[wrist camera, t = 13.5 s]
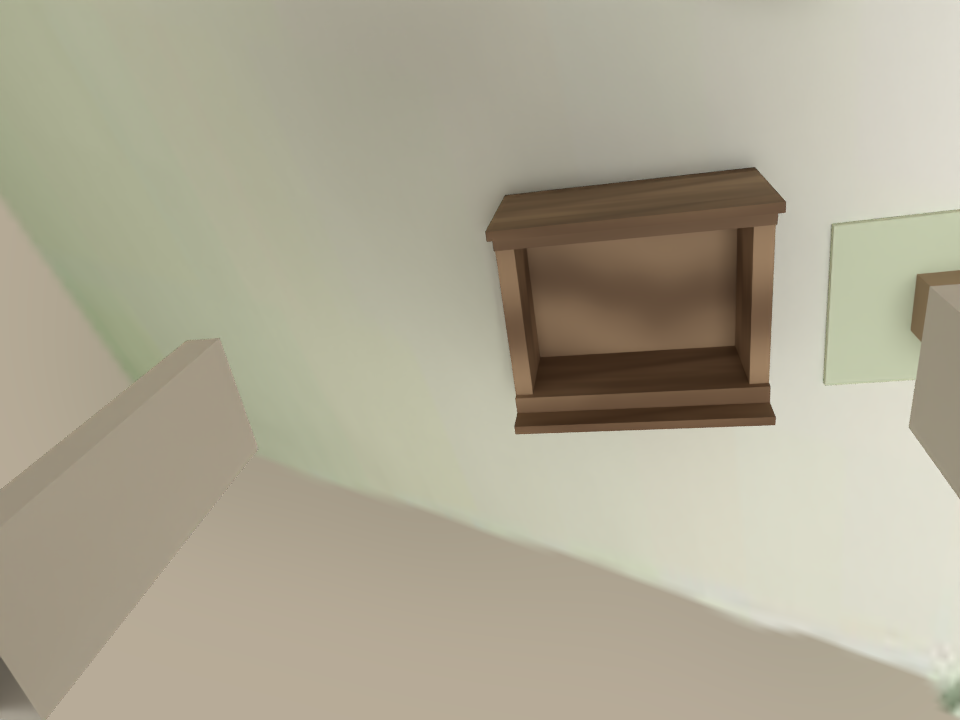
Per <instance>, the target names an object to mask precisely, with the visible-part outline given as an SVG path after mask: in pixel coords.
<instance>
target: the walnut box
mask: <svg viewBox="0 0 960 720" xmlns="http://www.w3.org/2000/svg"><path fill="white" fill-rule="evenodd" d="M778 213H786V201H785V200H784V199H783V198H782V197H781V196H780V195H779V193H778V192H777V191H776V190H775V189H774V188H773V187H772V186H771V185H770V184H769V182H768V181H767V180H766V179H765V178H764V177H763V176H762V175H761V174H760V172H759V171H758V170H757V169H756V168H755V167H753V168H744V169H735V170H726V171H717V172H708V173H699V174H690V175H681V176H673V177H664V178H655V179H646V180H637V181H628V182H619V183H610V184H601V185H592V186H583V187H574V188H565V189H556V190H547V191H539V192H530V193H521V194H512V195H505V196H504V198H503V200H502V202H501V204H500V206H499V208H498V209H497V211H496V213H495V215H494V217H493V219H492V221H491V222H490V224H489V226H488V228H487V230H486V232H485V234H486V240H487V242H490V241H492V242H493V249H494V251H495V253H496V260H497V266H498V273H499V280H500V287H501V294H502V301H503V308H504V315H505V322H506V329H507V335H508V342H509V349H510V356H511V363H512V370H513V377H514V384H515V391H516V398H515V400H516V406H517V418H516V422H515V434H537V433H565V432H593V431H621V430H649V429H678V428H706V427H734V426H762V425H775V420H776V417H775V414H774V412H773V409H772V407H771V404H770V384H769V369H770V345H771V321H772V297H773V274H774V250H775V226H776V225H777V223H778Z"/></svg>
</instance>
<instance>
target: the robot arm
mask: <svg viewBox="0 0 960 720" xmlns="http://www.w3.org/2000/svg"><path fill="white" fill-rule="evenodd" d="M909 428H910V430H911V431H912V433H913V434H914V435H915V437H916V438H917V440H918V441H919V442H920V444H921V445H922V447H923V448H924V449H925V451H926V452H927V454H928V455H929V456H930V458H931V459H932V461H933V462H934V463H935V465H936V466H937V468H938V469H939V470H940V472H941V473H942V475H943V476H944V477H945V479H946V480H947V482H948V483H949V484H950V486H951V487H952V489H953V490H954V492H955V493H956V494H957V496H958V497H959V499H960V284H954V285H941V286H930V288H929V295H928V302H927V308H926V315H925V322H924V329H923V335H922V342H921V349H920V355H919V362H918V369H917V375H916V382H915V389H914V395H913V402H912V409H911V415H910V422H909ZM257 450H258V446H257V443H256V440H255V437H254V435H253V432H252V429H251V426H250V423H249V420H248V417H247V415H246V412H245V409H244V406H243V403H242V400H241V397H240V395H239V392H238V389H237V386H236V383H235V380H234V377H233V375H232V372H231V369H230V366H229V363H228V360H227V357H226V355H225V352H224V349H223V346H222V343H221V340H220V338H214V339H201V340H187V341H186V342H184V343H183V344H182V345H181V346H179V347H178V348H177V349H176V350H174V351H173V352H172V353H171V354H169V355H168V356H167V357H166V358H164V359H163V360H162V361H161V362H159V363H158V364H157V365H156V366H154V367H153V368H152V369H151V370H149V371H148V372H147V373H146V374H144V375H143V376H142V377H141V378H139V379H138V380H137V381H136V382H134V383H133V384H132V385H131V386H129V387H128V388H127V389H126V390H124V391H123V392H122V393H121V394H120V395H118V396H117V397H116V398H114V399H113V400H112V401H111V402H110V403H108V404H107V405H106V406H104V407H103V408H102V409H101V410H99V411H98V412H97V413H96V414H94V415H93V416H92V417H91V418H89V419H88V420H87V421H86V422H84V423H83V424H82V425H81V426H79V427H78V428H77V429H76V430H74V431H73V432H72V433H71V434H69V435H68V436H67V437H66V438H64V439H63V440H62V441H61V442H59V443H58V444H57V445H56V446H54V447H53V448H52V449H51V450H50V451H48V452H47V453H46V454H44V455H43V456H42V457H41V458H39V459H38V460H37V461H36V462H34V463H33V464H32V465H30V466H29V467H28V468H27V469H25V470H24V471H23V472H22V473H21V474H19V475H18V476H17V477H15V478H14V479H13V480H12V481H11V482H9V483H8V484H7V485H5V486H4V487H3V488H2V489H0V719H1V720H46V719H47V718H48V717H49V715H50V714H51V713H52V712H53V710H54V709H55V708H56V706H57V705H58V704H59V703H60V701H61V700H62V699H63V698H64V696H65V695H66V694H67V692H68V691H69V690H70V689H71V687H72V686H73V685H74V684H75V682H76V681H77V680H78V678H79V677H80V676H81V675H82V673H83V672H84V671H85V669H86V668H87V667H88V666H89V664H90V663H91V662H92V661H93V659H94V658H95V657H96V655H97V654H98V653H99V652H100V650H101V649H102V648H103V647H104V645H105V644H106V643H107V641H108V640H109V639H110V638H111V636H112V635H113V634H114V633H115V631H116V630H117V629H118V627H119V626H120V625H121V623H122V622H123V621H124V620H125V619H126V617H127V616H128V614H129V613H130V612H131V611H132V610H133V608H134V607H135V606H136V604H137V603H138V602H139V601H140V599H141V598H142V597H143V596H144V594H145V593H146V592H147V590H148V589H149V588H150V587H151V585H152V584H153V583H154V582H155V580H156V579H157V578H158V576H159V575H160V574H161V573H162V571H163V570H164V569H165V568H166V566H167V565H168V564H169V563H170V561H171V560H172V559H173V557H174V556H175V555H176V553H177V552H178V551H179V550H180V548H181V547H182V546H183V544H184V543H185V542H186V541H187V539H188V538H189V537H190V536H191V534H192V533H193V532H194V531H195V529H196V528H197V527H198V526H199V524H200V523H201V522H202V520H203V519H204V518H205V517H206V515H207V514H208V513H209V511H210V510H211V509H212V508H213V506H214V505H215V504H216V503H217V501H218V500H219V499H220V498H221V496H222V495H223V494H224V492H225V491H226V490H227V489H228V487H229V486H230V485H231V484H232V482H233V481H234V479H235V478H236V477H237V476H238V475H239V473H240V472H241V471H242V470H243V468H244V467H245V466H246V464H247V463H248V462H249V461H250V459H251V458H252V457H253V456H254V454H255V453H256V452H257Z"/></svg>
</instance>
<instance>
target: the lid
mask: <svg viewBox="0 0 960 720" xmlns="http://www.w3.org/2000/svg"><path fill="white" fill-rule="evenodd" d="M954 284H960V209H959V210H950V211H941V212H932V213H923V214H915V215H906V216H897V217H888V218H879V219H871V220H862V221H853V222H844V223H835V224H832V229H831V248H830V266H829V285H828V304H827V322H826V341H825V359H824V378H823V383H824V384H825V386H827V385H843V384H858V383H873V382H889V381H904V380H916V375H917V369H918V362H919V355H920V349H921V342H922V335H923V329H924V322H925V315H926V308H927V302H928V295H929V288H930V286H941V285H954Z"/></svg>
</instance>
